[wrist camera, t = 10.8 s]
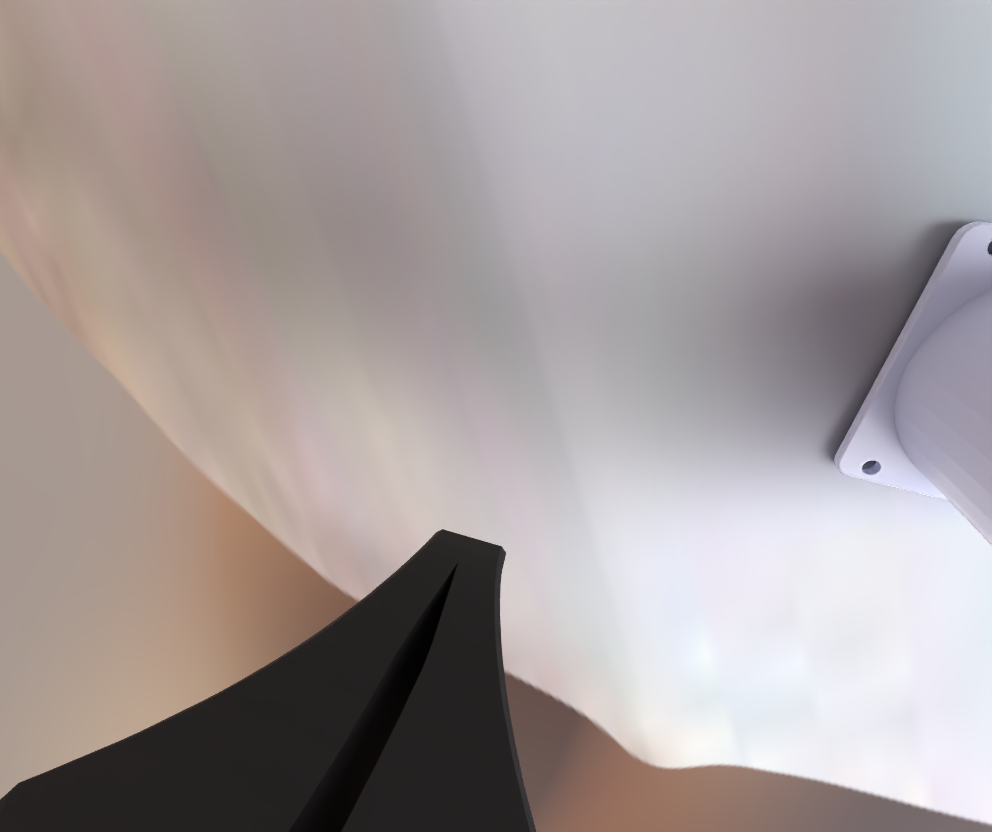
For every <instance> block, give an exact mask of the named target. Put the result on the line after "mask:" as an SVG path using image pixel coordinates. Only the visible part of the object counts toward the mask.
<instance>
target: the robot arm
mask: <svg viewBox="0 0 992 832" xmlns="http://www.w3.org/2000/svg"><path fill="white" fill-rule="evenodd" d="M991 241H992V223H988V222H972V223H969V224H966V225H964V226H963V227H961V228H960V229H958V230H957V232H956V233H955V234H954V235H953V237H952V238H951V240H950V242H949V244H948V246H947V248H946V250H945V251H944V253H943V255H942V257H941V259H940V261H939V263H938V264H937V266H936V268H935V270H934V272H933V274H932V276H931V278H930V279H929V281H928V283H927V285H926V287H925V289H924V291H923V292H922V294H921V296H920V298H919V300H918V302H917V304H916V305H915V307H914V309H913V311H912V313H911V315H910V317H909V319H908V320H907V322H906V324H905V326H904V328H903V330H902V332H901V333H900V335H899V337H898V339H897V341H896V343H895V345H894V347H893V348H892V350H891V352H890V354H889V356H888V358H887V360H886V361H885V363H884V365H883V367H882V369H881V371H880V373H879V374H878V376H877V378H876V380H875V382H874V384H873V386H872V388H871V389H870V391H869V393H868V395H867V397H866V399H865V401H864V402H863V404H862V406H861V408H860V410H859V412H858V414H857V415H856V417H855V419H854V421H853V423H852V425H851V427H850V429H849V430H848V432H847V434H846V436H845V438H844V440H843V442H842V443H841V445H840V447H839V449H838V451H837V453H836V455H835V458H834V461H835V465H836V466H837V468H838V469H839V470H840V472H841V473H843V474H845V475H847V476H851V477H855V478H859V479H863V480H867V481H871V482H875V483H879V484H882V485H886V486H890V487H894V488H898V489H902V490H906V491H910V492H914V493H918V494H922V495H926V496H930V497H934V498H938V499H942V500H946V501H950V502H951V503H952V505H953V506H954V507H955V508H956V509H957V510H958V511H959V512H960V513H961V514H962V515H963V516H964V517H965V518H966V519H967V520H968V521H969V522H970V523H971V524H972V525H973V527H974V528H975V529H976V530H977V531H978V532H979V533H980V534H981V535H982V536H983V537H984V538H985V539H986V540H987V541H988V542H989V543H990V544H991V545H992V254H989V253H988V250H987V249H988V245H989V243H990V242H991ZM868 461H876V463H875V465H874V466H873V467H871V468H868V469H863V468H862V466H863V465H864V464H865V463H866V462H868ZM505 556H506V552H505V551H504V549H503V548H502V546H498V545H495V544H491V543H488V542H484V541H481V540H477V539H474V538H471V537H467V536H464V535H460V534H457V533H453V532H450V531H447V530H443V529H442V530H440V531H438V532H436V533H435V534H434V535H433V537H432V538H431V539H430V540H429V541H428V542H427V543H426V544H425V545H424V546H423V547H422V548H421V549H420V550H419V551H418V552H417V553H416V554H414V555H413V556H412V557H411V558H410V559H409V560H408V561H407V562H406V563H405V564H404V565H403V566H401V567H400V568H399V569H398V570H397V571H396V572H395V573H393V574H392V575H391V576H390V577H389V578H388V579H386V580H385V581H384V582H383V583H382V584H380V585H379V586H378V587H377V588H376V589H375V590H373V591H372V592H371V593H370V594H369V595H367V596H366V597H365V598H364V599H362V600H361V601H360V602H358V603H357V604H356V605H354V606H353V607H352V608H350V609H349V610H348V611H346V612H345V613H344V614H342V615H341V616H340V617H338V618H337V619H336V620H335V621H333V622H332V623H331V624H329V625H328V626H326V627H325V628H323V629H322V630H321V631H319V632H318V633H317V634H315V635H313V636H312V637H310V638H309V639H308V640H306V641H305V642H303V643H301V644H300V645H298V646H297V647H295V648H294V649H292V650H291V651H289V652H287V653H286V654H284V655H283V656H281V657H280V658H278V659H276V660H275V661H273V662H271V663H270V664H268V665H266V666H265V667H263V668H261V669H259V670H258V671H256V672H254V673H253V674H251V675H249V676H247V677H246V678H244V679H242V680H241V681H239V682H237V683H235V684H234V685H232V686H230V687H228V688H226V689H224V690H223V691H221V692H219V693H217V694H215V695H213V696H211V697H209V698H208V699H206V700H204V701H202V702H200V703H198V704H196V705H193V706H191V707H189V708H187V709H185V710H183V711H181V712H179V713H177V714H175V715H173V716H171V717H169V718H167V719H165V720H163V721H161V722H159V723H157V724H155V725H153V726H151V727H149V728H147V729H145V730H143V731H141V732H138V733H136V734H134V735H132V736H129V737H127V738H125V739H123V740H121V741H119V742H116V743H114V744H111V745H109V746H107V747H104V748H102V749H100V750H97V751H95V752H92V753H90V754H88V755H85V756H83V757H80V758H78V759H76V760H73V761H71V762H69V763H66V764H64V765H62V766H59V767H57V768H54V769H52V770H50V771H47V772H45V773H42V774H40V775H37V776H35V777H32V778H30V779H28V780H25V781H22V782H20V783H18V784H17V785H16V786H15V787H14V788H13V789H12V790H11V791H9V792H8V794H6V795H5V796H4V797H3V798H2V799H1V800H0V832H536V829H535V825H534V821H533V818H532V814H531V810H530V806H529V803H528V799H527V795H526V791H525V787H524V783H523V778H522V774H521V769H520V764H519V759H518V755H517V750H516V745H515V740H514V734H513V729H512V724H511V718H510V712H509V706H508V699H507V692H506V684H505V676H504V667H503V657H502V646H501V627H500V584H501V574H502V569H503V564H504V560H505Z"/></svg>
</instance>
